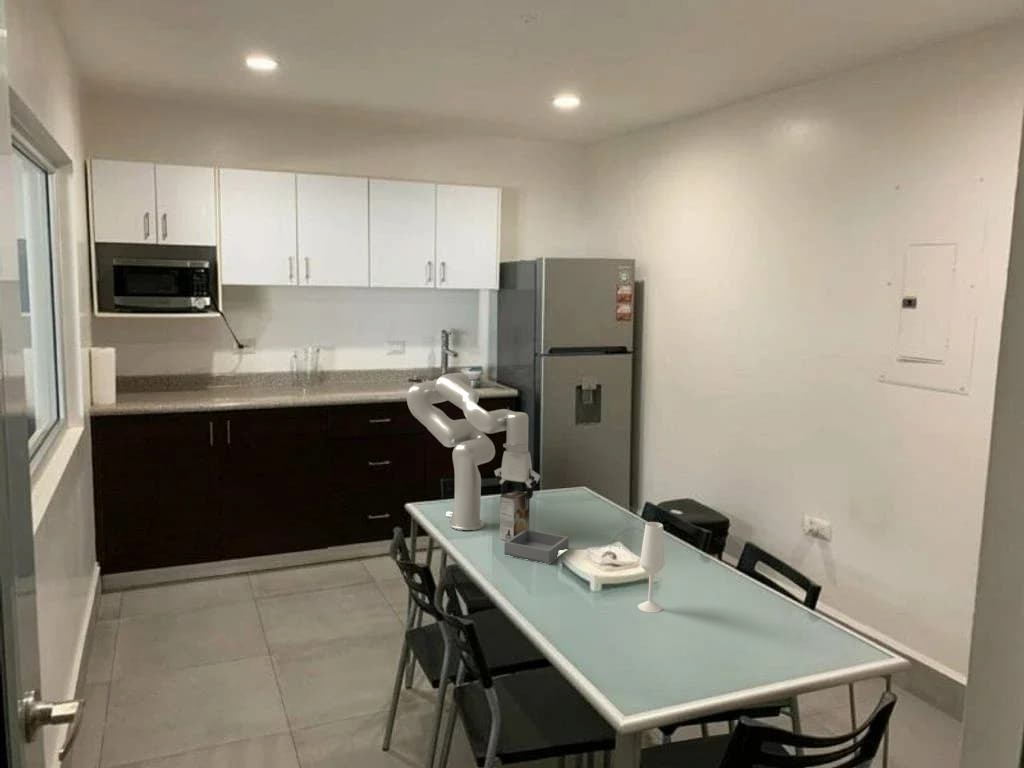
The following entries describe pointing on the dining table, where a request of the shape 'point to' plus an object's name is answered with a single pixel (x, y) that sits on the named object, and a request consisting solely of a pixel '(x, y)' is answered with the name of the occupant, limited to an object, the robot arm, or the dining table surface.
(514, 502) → the coffee box
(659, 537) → the champagne flute
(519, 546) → the box
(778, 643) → the dining table surface
